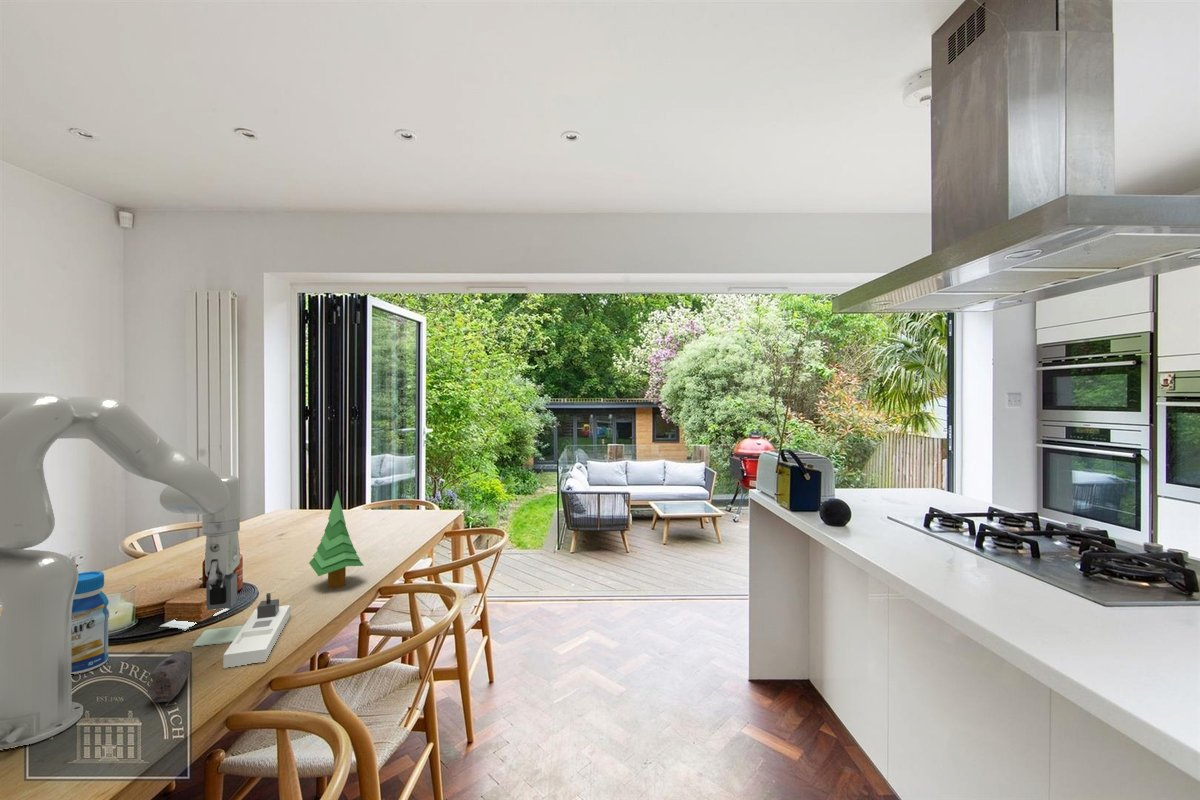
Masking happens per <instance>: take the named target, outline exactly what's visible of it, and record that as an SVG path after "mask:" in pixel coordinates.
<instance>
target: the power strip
mask: <svg viewBox="0 0 1200 800" xmlns="http://www.w3.org/2000/svg"><path fill="white" fill-rule="evenodd" d="M271 596H272V595H271V593H270V592H268V593H266V597H265V598H266V599H265V600H261V601H260V603H258V605H257V607H256V608H255V609H254V611H253V612H252V614H251V615H250V616H249V618H248V619H247V621H246V622H245V623H244V624H243V625H244V626H243V628H242V629H241V631H240V632H239V633H238V635H237V636H236V638H235V639H234V641H233V642H232V643H231V644H229V646H228V648H227V649H226V650H225V652H224V654H223V655H222V656H223V662H222V663H223V665H222V666H223V667H222V668H224V669H229V668H228V667H231V668H236V667H235V666H238V667H242V666H241V665H245V666H248V665H247V664H251V663H258V662H265V661H266V660H267V661H268V659H269V657H270V655H271V653H272V652H271V650H272V648H273V646H274V645H275V646H276V644H277V642H278V640H279V638H280V636H281V634H282V632H283V631H282V630H284V629H285V627H286V625H285V624H288V623H287V622H288V621H289V619H290V617H291V605H290V604H288V605H280V599H279V598H276V599H271V598H272V597H271ZM284 626H285V627H284ZM283 628H284V629H283ZM280 633H281V634H280ZM279 635H280V636H279ZM278 637H279V638H278ZM277 639H278V640H277ZM276 641H277V642H276ZM275 643H276V644H275ZM275 646H274V647H275ZM273 649H274V648H273ZM272 651H273V650H272ZM270 652H271V653H270ZM269 654H270V655H269ZM268 656H269V657H268ZM267 658H268V659H267ZM267 661H266V662H267Z"/></svg>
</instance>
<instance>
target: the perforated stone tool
mask: <svg viewBox="0 0 1200 800" xmlns="http://www.w3.org/2000/svg"><path fill="white" fill-rule="evenodd" d="M191 665H192V657H191V654H190V652H189V651H188V650H185V649H184V650H179V651H175V652H174V653H172V654H170V655H169V656H167V658H165V659H164V660H162V661H161V662H160V663H159V664H157V666H155V668H154V669H153V671H152V672H151V674H150V678H151V682H150V685H149V686H148V689H147V694H148V695H149V697H150V699H151V701H152V702H153V703H158V704H159V703H166V702H167V703H169V702H171V701H172V700H174V699H175V698H176V696H178V695H179V693H180V692H181V690H182V688H183V687H184V685H185V683H186V680H187V679H188V676H189V672H190V670H191Z"/></svg>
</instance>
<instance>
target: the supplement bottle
mask: <svg viewBox="0 0 1200 800" xmlns="http://www.w3.org/2000/svg"><path fill="white" fill-rule="evenodd" d="M104 585H105V574H104V572H103V571H96V570H93V571H84V572H78V583H77V587H76V591H75V595H74V599H73V605H72V615H71V674H74V675H79V673H80V674H84V673H87V672H90V671H93V670H95V669H97V668H99V667H102V666H103V665H105V664H106V663H107V661H108V660H109V618H110V610H109V609H108V608H107V607H108V605H109V599H108V596H107V595H106V594H105V592H103V591H102V589H104Z"/></svg>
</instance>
